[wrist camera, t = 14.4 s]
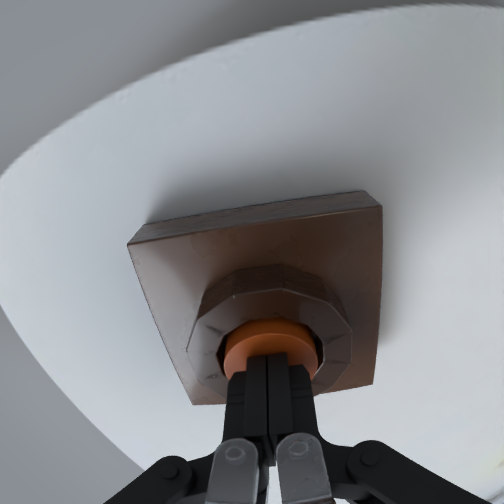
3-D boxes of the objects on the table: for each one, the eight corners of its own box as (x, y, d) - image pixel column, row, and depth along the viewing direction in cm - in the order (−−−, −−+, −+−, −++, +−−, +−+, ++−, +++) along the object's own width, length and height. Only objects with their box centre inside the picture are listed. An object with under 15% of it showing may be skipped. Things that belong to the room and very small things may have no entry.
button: (219, 306, 13) (213, 339, 11) (308, 294, 13) (316, 327, 11) (236, 367, 15) (234, 400, 13) (313, 358, 14) (319, 391, 12)
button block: (142, 224, 14) (107, 265, 11) (365, 189, 13) (402, 222, 10) (197, 378, 18) (187, 431, 15) (364, 357, 17) (381, 410, 14)
